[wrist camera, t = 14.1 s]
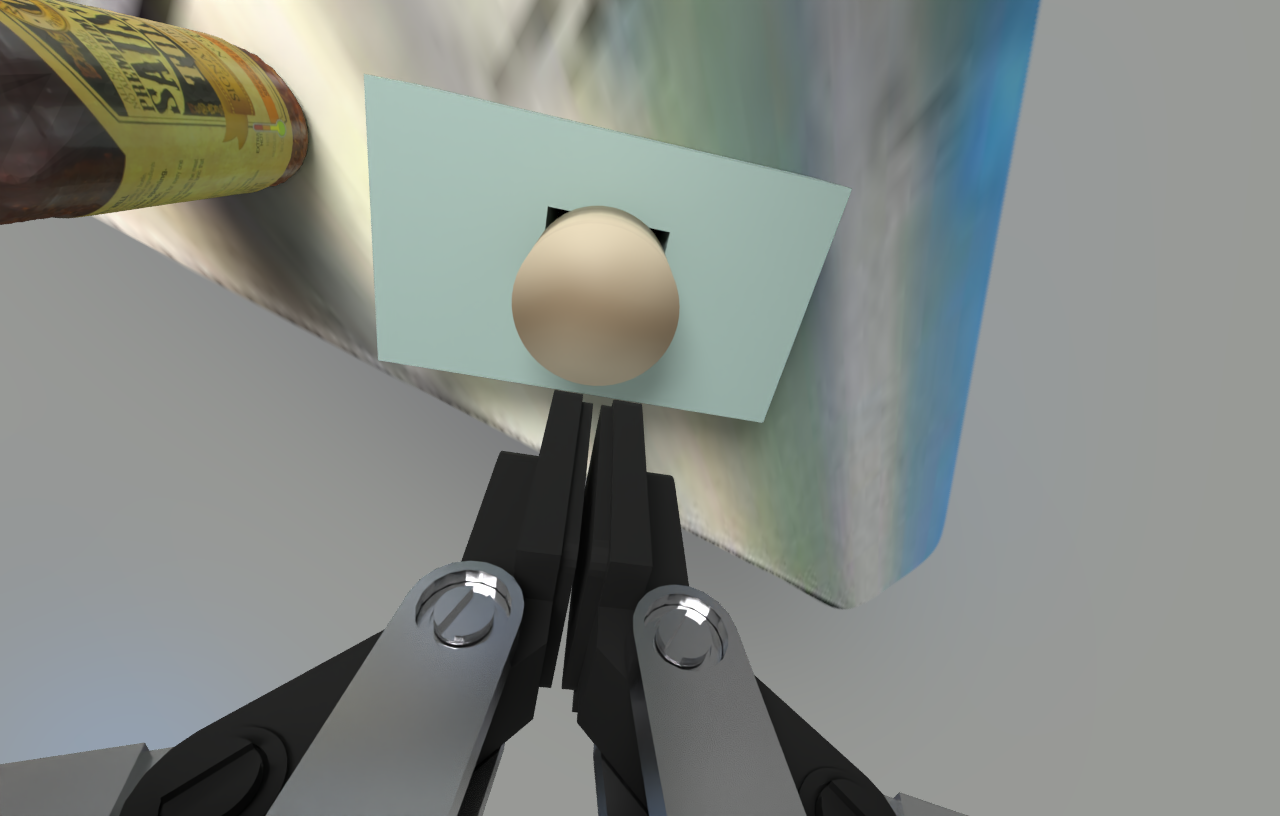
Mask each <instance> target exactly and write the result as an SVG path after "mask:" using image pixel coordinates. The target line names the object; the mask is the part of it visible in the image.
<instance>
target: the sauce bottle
mask: <svg viewBox="0 0 1280 816" xmlns="http://www.w3.org/2000/svg"><path fill="white" fill-rule="evenodd" d="M307 147H308V130H307V125H306V120H305V118H304V115H303V112H302V109H301V107H300V105H299V103H298V102H297V100H296V98H295V97H294V95H293V93H292V92H291V90H290V89H289V88H288V86H287V85H286V84H285V82H284V81H283V80H282V78H281V77H280V76H279V75H278V74H277V73H276V72H275V70H274V69H273V68H272V67H270V66H269V65H267V64H265V63H264V62H263V61H262V60H261V59H260V58H259V57H258V56H257V55H255V54H252V53H249V52H248V51H246V50H245V49H241V48H239V47H237V46H235V45H232V44H230V43H228V42H226V41H225V40H223V39H221V38H218V37H215V36H212V35H209V34H206V33H202V32H197V31H193V30H189V29H184V28H180V27H176V26H172V25H168V24H164V23H159V22H155V21H151V20H147V19H142V18H138V17H134V16H129V15H125V14H121V13H116V12H113V11H109V10H105V9H101V8H96V7H92V6H86V5H82V4H77V3H73V2H69V1H65V0H0V225H2V224H12V223H15V222H24V221H29V220H36V219H44V218H50V217H55V218H76V217H83V216H92V215H98V214H105V213H112V212H119V211H126V210H132V209H139V208H145V207H152V206H159V205H165V204H172V203H179V202H186V201H194V200H201V199H208V198H215V197H222V196H229V195H236V194H244V193H251V192H256V191H259V190H262V189H264V188H266V187H268V186H276V185H278V184H280V183H284V182H285V181H286V180H287V179H288V178H290V177H291V176H292V175H294V174H295V172H296V171H297V170H298V169H299V168H300V166H301V165H302V164H303V160H304V158H305V156H306V152H307Z"/></svg>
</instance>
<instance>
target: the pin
mask: <svg viewBox="0 0 1280 816" xmlns="http://www.w3.org/2000/svg"><path fill="white" fill-rule="evenodd" d="M679 309H680V305H679V295H678V290H677V286H676V283H675V280H674V277H673V274H672V272H671V269H670V266H669V263H668V261H667V258H666V255H665V252H664V250H663V247H662V246H661V244H660V242H659V240H658V238H657V237H656V236H655V234H654V233H653V232H652V231H651V229H650V228H649V227H648V226H647V225H646V224H644V223H643V222H642V221H641V220H640V219H638V218H637V217H635V216H633V215H632V214H630V213H628V212H625V211H623V210H620V209H617V208H614V207H608V206H587V207H581V208H578V209H574V210H572V211H570V212H567V213H565V214H564V215H562V216H560V217H559V218H557V219H556V220H555V221H554V222H552V223H551V224H550V225H549V226H548V227H547V228H546V230H545V231H544V232H543V233H542V235H541V236H540V238H539V239H538V241H537V242H536V244H535V245H534V247H533V248H532V250H531V251H530V253H529V254H528V256H527V257H526V259H525V260H524V262H523V263H522V265H521V267H520V269H519V271H518V273H517V275H516V279H515V282H514V285H513V292H512V314H513V319H514V323H515V327H516V330H517V332H518V335H519V337H520V339H521V341H522V343H523V344H524V346H525V348H526V349H527V350H528V352H529V353H530V354H531V355H532V357H533V358H534V359H535V360H536V361H537V362H538V363H539V364H541V365H542V366H543V367H544V368H545V369H547V370H548V371H550V372H551V373H553V374H555V375H557V376H559V377H561V378H563V379H565V380H568V381H571V382H573V383H578V384H582V385H590V386H607V385H614V384H618V383H622V382H625V381H628V380H631V379H633V378H635V377H637V376H639V375H641V374H643V373H644V372H645V371H647V370H648V369H650V368H651V367H652V366H653V365H654V364H655V363H656V362H658V360H659V359H660V358H661V357H662V356H663V355H664V353H665V352H666V350H667V349H668V347H669V346H670V344H671V342H672V340H673V337H674V335H675V332H676V329H677V325H678V320H679Z"/></svg>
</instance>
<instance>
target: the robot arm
mask: <svg viewBox="0 0 1280 816" xmlns="http://www.w3.org/2000/svg"><path fill="white" fill-rule="evenodd" d="M582 398H583V394H577V393H571V392H565V391H559V390H555V391H554V395H553V399H552V403H551V407H550V412H549V416H548V420H547V424H546V428H545V433H544V437H543V441H542V445H541V449H540V454H539V456H533V455H527V454H520V453H513V452H506V451H501V452H500V454H499V456H498V459H497V462H496V465H495V467H494V470H493V473H492V476H491V479H490V482H489V484H488V487H487V490H486V493H485V496H484V499H483V501H482V504H481V507H480V510H479V513H478V516H477V519H476V521H475V524H474V527H473V530H472V533H471V535H470V538H469V541H468V544H467V547H466V550H465V552H464V555H463V558H462V561H461V562H455V563H451V564H448V565H445V566H442V567H440V568H437V569H435V570H433V571H432V572H430V573H429V574H427V575H426V576H424V577H423V578H421V579H420V580H419V581H418V582H417V583H416V585H415V586H414V587H413V588H412V589H411V590H410V591H409V592H408V594H407V596H406V597H405V599H404V600H403V602H402V603H401V605H400V606H399V608H398V610H397V611H396V613H395V614H394V616H393V617H392V619H391V621H390V622H389V624H388V625H387V627H386V628H385V629H384V630H383V631H381V632H379V633H377V634H375V635H373V636H371V637H370V638H368V639H366V640H364V641H362V642H360V643H359V644H357V645H355V646H353V647H351V648H350V649H348V650H346V651H344V652H342V653H340V654H339V655H337V656H335V657H333V658H331V659H329V660H328V661H326V662H324V663H322V664H320V665H318V666H317V667H315V668H313V669H311V670H309V671H307V672H305V673H304V674H302V675H300V676H298V677H297V678H295V679H293V680H291V681H289V682H287V683H285V684H283V685H282V686H280V687H278V688H276V689H275V690H272V691H271V692H269V693H267V694H265V695H263V696H261V697H260V698H258V699H256V700H254V701H252V702H250V703H249V704H247V705H245V706H243V707H241V708H239V709H238V710H236V711H234V712H232V713H230V714H228V715H227V716H225V717H223V718H221V719H219V720H218V721H216V722H214V723H212V724H210V725H208V726H206V727H205V728H203V729H201V730H199V731H197V732H196V733H194V734H193V735H191V736H190V737H189V738H187V739H186V740H184V741H182V742H181V743H179V744H178V745H177V746H175V747H171V748H165V749H158V750H152V751H149V749H148V747H147V746H146V744H145V743H139V744H133V745H126V746H119V747H113V748H106V749H99V750H93V751H86V752H80V753H74V754H66V755H59V756H53V757H46V758H40V759H33V760H26V761H20V762H13V763H6V764H0V816H482V815H483V812H484V809H485V806H486V803H487V800H488V797H489V794H490V791H491V788H492V785H493V782H494V778H495V775H496V772H497V769H498V766H499V763H500V760H501V757H502V754H503V750H504V745H505V742H506V741H507V740H508V739H510V738H511V737H512V736H513V735H514V734H516V733H517V732H518V731H519V730H520V729H521V728H523V727H524V726H525V725H526V724H528V723H529V722H530V721H531V720H532V719H533V716H534V711H535V705H536V700H537V694H538V689H539V687H548V688H551V685H552V680H553V676H554V670H555V666H556V661H557V656H558V651H559V646H560V642H561V636H562V632H563V627H564V622H565V617H566V613H567V608H568V603H569V598H570V593H571V602H570V611H569V620H568V630H567V639H566V649H565V659H564V668H563V677H562V689H570V690H574V695H573V707H572V712H578V715H577V723H578V724H579V726H581V728H582V729H583V730H584V732H585V733H586V734H587V735H588V737H589V738H590V739H591V740H592V742H593V743H594V752H593V760H594V772H595V783H596V794H597V805H598V816H968V815H964V814H961V813H959V812H956V811H953V810H950V809H947V808H944V807H941V806H938V805H935V804H932V803H929V802H926V801H923V800H921V799H918V798H915V797H912V796H909V795H906V794H903V793H898V794H897V795H896V796H895V797H894V798H890V797H888V796H885V795H883V794H882V793H881V792H880V791H879V789H878V788H877V787H876V786H875V785H874V784H873V783H872V782H871V781H870V780H869V778H868V777H866V776H865V775H864V774H863V773H862V772H861V771H860V770H859V769H858V768H857V767H855V766H854V765H853V764H852V763H851V762H850V761H849V760H848V759H847V758H846V757H844V756H843V755H842V754H841V753H840V752H839V751H838V750H837V749H836V748H834V747H833V746H832V745H831V744H830V743H829V742H828V741H827V740H826V739H824V738H823V737H822V736H821V735H820V734H819V733H818V732H817V731H816V730H815V729H813V728H812V727H811V726H810V725H809V724H808V723H807V722H806V721H805V720H803V719H802V718H801V717H800V716H799V715H798V714H797V713H796V712H795V711H793V710H792V709H791V708H790V707H789V706H788V705H787V704H786V703H785V702H784V701H782V700H781V699H780V698H779V697H778V696H777V695H776V694H775V693H774V692H772V691H771V690H770V689H769V688H768V687H767V686H766V685H765V684H764V683H763V682H761V681H760V680H759V679H758V678H757V677H756V676H755V675H754V674H753V671H752V668H751V666H750V663H749V660H748V658H747V655H746V652H745V650H744V647H743V644H742V642H741V639H740V636H739V633H738V631H737V628H736V626H735V624H734V622H733V621H732V619H731V617H730V615H729V613H728V612H727V611H726V610H725V609H724V608H723V607H722V606H721V605H720V604H719V602H717V601H716V600H714V599H713V598H712V597H710V596H709V595H707V594H706V593H704V592H702V591H700V590H697V589H694V588H692V587H689V583H688V576H687V569H686V561H685V554H684V547H683V541H682V533H681V525H680V518H679V511H678V504H677V496H676V489H675V483H674V479H673V477H672V476H670V475H663V474H656V473H650V472H646V457H645V442H644V427H643V412H642V404H638V403H632V402H625V401H619V400H613V403H612V407H610V406H604V405H602V406H601V410H600V415H599V420H598V425H597V430H596V435H595V440H594V445H593V450H592V455H591V460H590V465H589V471H588V476H587V481H586V486H585V480H586V470H587V460H588V450H589V439H590V429H591V419H592V409H593V404H592V403H586V402H582ZM584 490H585V491H584ZM571 588H572V592H571Z"/></svg>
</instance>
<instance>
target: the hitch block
mask: <svg viewBox="0 0 1280 816" xmlns="http://www.w3.org/2000/svg"><path fill="white" fill-rule="evenodd" d="M364 86H365V106H366V126H367V146H368V166H369V186H370V206H371V226H372V246H373V266H374V286H375V306H376V326H377V346H378V360H380V361H386V362H393V363H399V364H405V365H411V366H417V367H423V368H429V369H436V370H442V371H448V372H454V373H460V374H466V375H472V376H479V377H485V378H491V379H497V380H503V381H509V382H515V383H522V384H528V385H534V386H540V387H546V388H552V389H558V390H565V391H571V392H577V393H583V394H589V395H595V396H601V397H608V398H614V399H620V400H626V401H632V402H638V403H644V404H651V405H657V406H663V407H669V408H675V409H681V410H687V411H694V412H700V413H706V414H712V415H718V416H724V417H730V418H737V419H743V420H749V421H755V422H761V423H763V421H764V419H765V416H766V413H767V411H768V408H769V406H770V403H771V400H772V398H773V395H774V392H775V390H776V387H777V385H778V382H779V379H780V377H781V374H782V371H783V369H784V366H785V364H786V361H787V358H788V356H789V353H790V350H791V348H792V345H793V343H794V340H795V337H796V335H797V332H798V329H799V327H800V324H801V322H802V319H803V316H804V314H805V311H806V308H807V306H808V303H809V301H810V298H811V295H812V293H813V290H814V287H815V285H816V282H817V280H818V277H819V274H820V272H821V269H822V266H823V264H824V261H825V259H826V256H827V253H828V251H829V248H830V245H831V243H832V240H833V238H834V235H835V232H836V230H837V227H838V224H839V222H840V219H841V217H842V214H843V211H844V209H845V206H846V203H847V201H848V198H849V196H850V193H851V190H852V188H848V187H844V186H841V185H837V184H834V183H830V182H827V181H823V180H820V179H816V178H813V177H809V176H805V175H800V174H796V173H792V172H788V171H783V170H779V169H775V168H771V167H766V166H762V165H758V164H754V163H749V162H745V161H741V160H737V159H733V158H728V157H724V156H720V155H716V154H711V153H707V152H703V151H699V150H694V149H690V148H686V147H682V146H677V145H673V144H669V143H665V142H660V141H656V140H652V139H648V138H643V137H639V136H635V135H631V134H626V133H622V132H618V131H614V130H609V129H605V128H601V127H597V126H592V125H588V124H584V123H580V122H576V121H571V120H567V119H563V118H559V117H554V116H550V115H546V114H542V113H537V112H533V111H529V110H525V109H520V108H516V107H512V106H508V105H503V104H499V103H495V102H491V101H486V100H482V99H478V98H474V97H469V96H465V95H461V94H457V93H452V92H448V91H444V90H440V89H435V88H431V87H427V86H423V85H418V84H414V83H409V82H404V81H398V80H393V79H388V78H383V77H377V76H372V75H367V74H364ZM587 206H608V207H614V208H617V209H620V210H623V211H625V212H628V213H630V214H632V215H633V216H635V217H637V218H638V219H640V220H641V221H642V222H643V223H644V224H646V225H647V226H648V227H649V228H653V229H657V232H656V237H657V238H658V240H659V242H660V244H661V246H662V247H663V250H664V252H665V255H666V258H667V261H668V263H669V266H670V269H671V272H672V274H673V277H674V280H675V283H676V286H677V290H678V295H679V305H680V309H679V320H678V325H677V329H676V332H675V335H674V337H673V340H672V342H671V344H670V346H669V347H668V349H667V350H666V352H665V353H664V355H663V356H662V357H661V358H660V359H659V360H658V362H656V363H655V364H654V365H653V366H652V367H651V368H650V369H648V370H647V371H645V372H644V373H643V374H641V375H639V376H637V377H635V378H633V379H631V380H628V381H625V382H622V383H618V384H614V385H607V386H590V385H582V384H578V383H573V382H571V381H568V380H565V379H563V378H561V377H559V376H557V375H555V374H553V373H551V372H550V371H548V370H547V369H545V368H544V367H543V366H542V365H541V364H539V363H538V362H537V361H536V360H535V359H534V358H533V357H532V355H531V354H530V353H529V352H528V350H527V349H526V348H525V346H524V344H523V343H522V341H521V339H520V337H519V335H518V332H517V330H516V327H515V323H514V319H513V314H512V292H513V285H514V282H515V279H516V275H517V273H518V271H519V269H520V267H521V265H522V263H523V262H524V260H525V259H526V257H527V256H528V254H529V253H530V251H531V250H532V248H533V247H534V245H535V244H536V242H537V241H538V239H539V238H540V236H541V235H542V233H543V232H544V231H545V230H546V228H547V227H548V226H549V225H550V224H551V223H552V222H554V221H555V220H556V219H557V214H558V209H563V210H567V211H572V210H574V209H578V208H581V207H587Z"/></svg>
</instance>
